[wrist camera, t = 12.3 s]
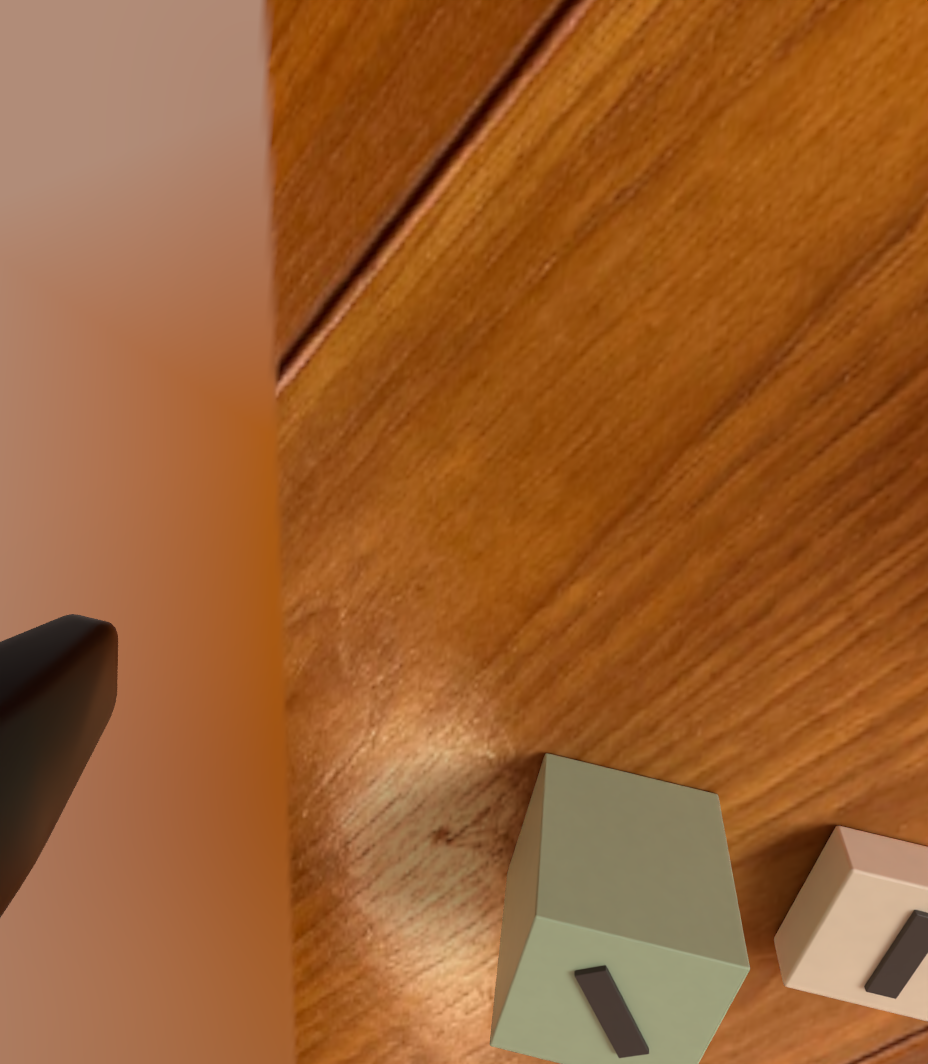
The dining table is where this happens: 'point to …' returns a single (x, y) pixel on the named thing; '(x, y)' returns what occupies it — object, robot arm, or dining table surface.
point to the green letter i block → (617, 921)
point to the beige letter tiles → (861, 925)
